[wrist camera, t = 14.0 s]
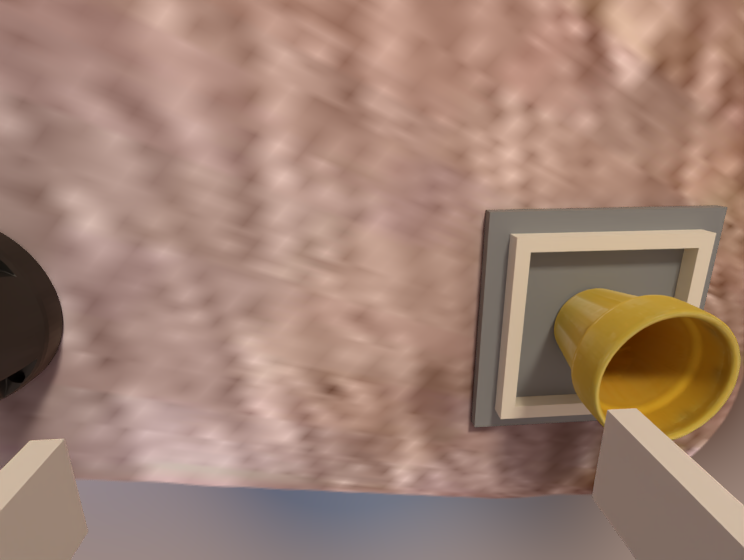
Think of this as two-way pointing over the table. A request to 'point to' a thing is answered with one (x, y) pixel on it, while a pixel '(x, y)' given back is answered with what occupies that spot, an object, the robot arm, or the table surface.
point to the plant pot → (648, 357)
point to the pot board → (572, 293)
